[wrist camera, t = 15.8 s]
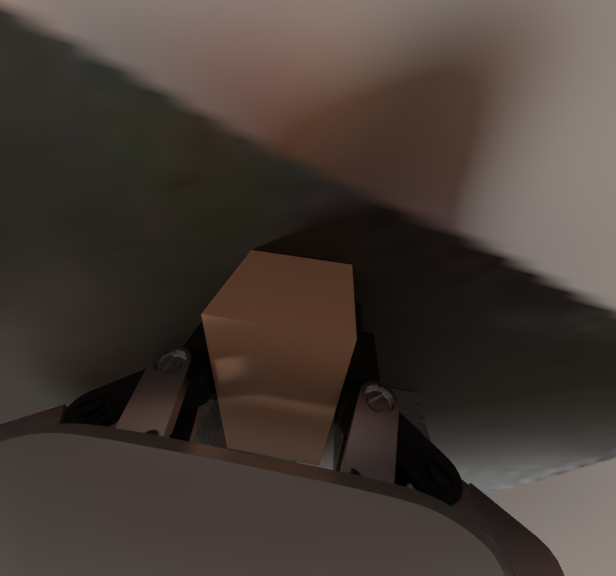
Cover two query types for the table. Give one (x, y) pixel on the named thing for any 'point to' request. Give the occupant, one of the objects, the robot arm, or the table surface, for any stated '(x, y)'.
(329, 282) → the plug
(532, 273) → the table surface
